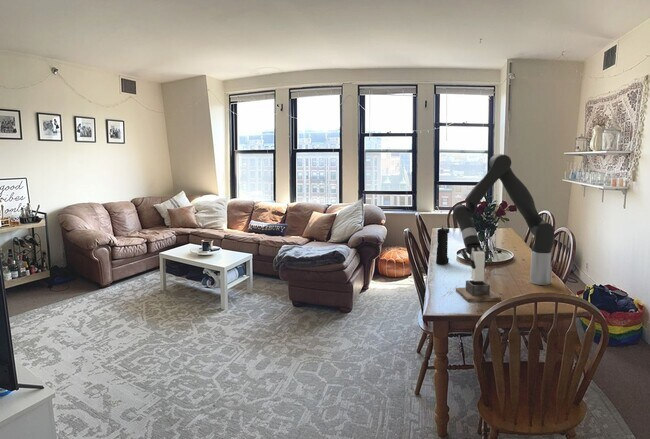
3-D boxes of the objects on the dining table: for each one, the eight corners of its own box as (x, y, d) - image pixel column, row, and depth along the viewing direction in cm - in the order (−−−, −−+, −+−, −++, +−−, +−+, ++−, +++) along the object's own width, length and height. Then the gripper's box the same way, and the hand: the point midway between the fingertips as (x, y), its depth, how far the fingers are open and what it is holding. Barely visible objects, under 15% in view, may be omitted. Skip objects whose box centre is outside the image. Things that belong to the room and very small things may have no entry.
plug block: (480, 278, 202) (481, 250, 200) (483, 281, 198) (484, 253, 196) (471, 278, 202) (472, 251, 200) (474, 281, 198) (475, 253, 196)
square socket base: (486, 289, 210) (486, 277, 208) (500, 300, 194) (501, 287, 193) (455, 290, 209) (455, 278, 208) (467, 301, 193) (467, 288, 192)
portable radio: (440, 261, 266) (441, 223, 262) (449, 262, 262) (450, 224, 258) (435, 263, 260) (435, 225, 256) (444, 265, 256) (445, 226, 252)
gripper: (459, 235, 204) (467, 264, 194) (486, 234, 204) (496, 263, 194) (454, 243, 210) (462, 272, 200) (482, 242, 210) (491, 271, 200)
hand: (479, 267), depth 197 cm, fingers closed on plug block, 4 cm apart
